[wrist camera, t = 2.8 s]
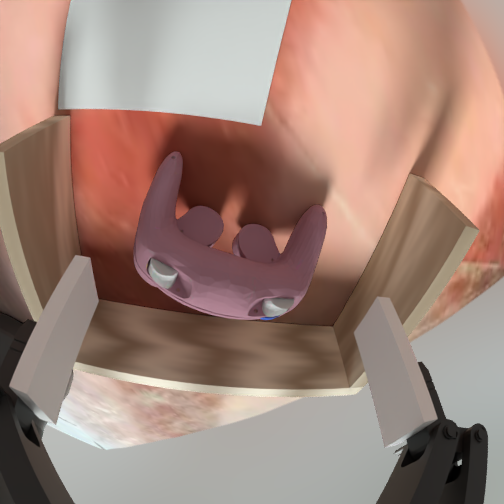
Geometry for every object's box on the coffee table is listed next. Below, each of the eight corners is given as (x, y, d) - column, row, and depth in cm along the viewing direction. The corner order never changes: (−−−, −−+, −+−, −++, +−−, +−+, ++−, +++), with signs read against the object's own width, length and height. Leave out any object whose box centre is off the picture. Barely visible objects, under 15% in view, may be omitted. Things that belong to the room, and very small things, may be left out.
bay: (79, 304, 21) (55, 364, 17) (53, 116, 13) (-14, 152, 8) (339, 335, 25) (356, 394, 20) (423, 177, 16) (479, 230, 11)
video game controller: (155, 189, 18) (118, 294, 14) (166, 139, 14) (113, 262, 11) (296, 237, 20) (287, 338, 17) (335, 203, 17) (333, 323, 13)
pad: (63, 107, 12) (58, 109, 12) (96, -66, 6) (92, -69, 5) (260, 123, 14) (261, 125, 14) (305, -60, 8) (308, -64, 7)
